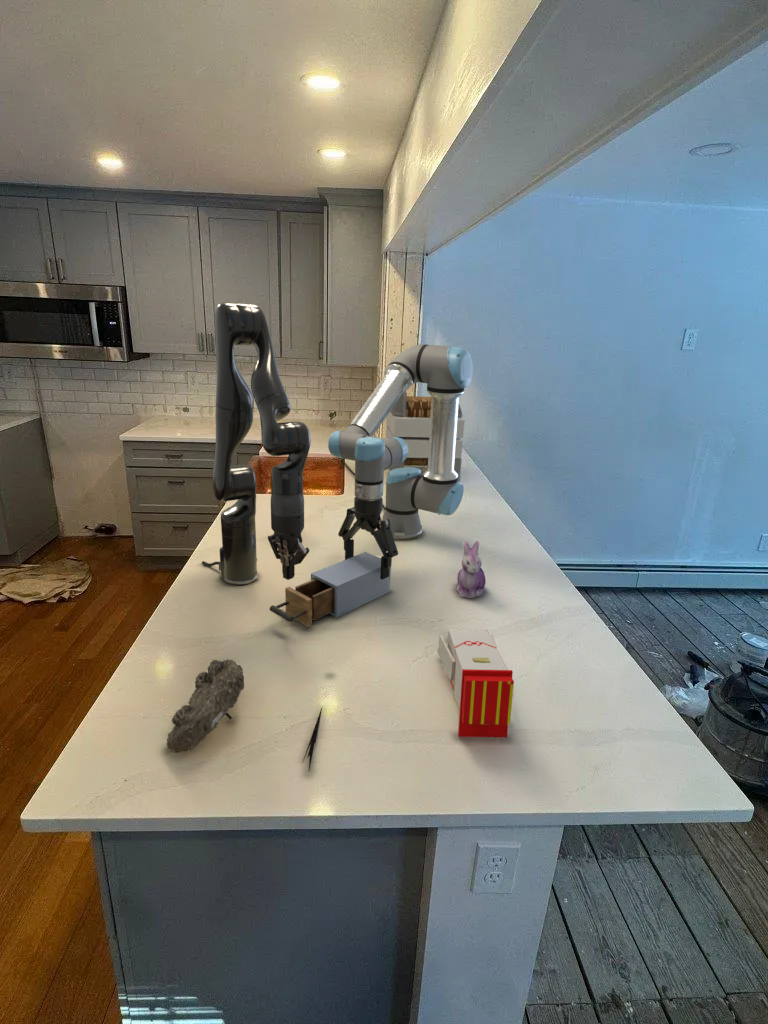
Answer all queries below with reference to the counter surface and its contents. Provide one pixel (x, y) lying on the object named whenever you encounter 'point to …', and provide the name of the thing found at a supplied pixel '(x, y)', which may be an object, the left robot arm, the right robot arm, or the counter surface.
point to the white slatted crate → (418, 430)
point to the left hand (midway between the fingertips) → (288, 578)
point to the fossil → (206, 705)
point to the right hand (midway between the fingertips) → (366, 569)
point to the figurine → (471, 573)
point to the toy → (478, 682)
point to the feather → (313, 740)
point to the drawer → (307, 602)
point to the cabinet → (354, 581)
